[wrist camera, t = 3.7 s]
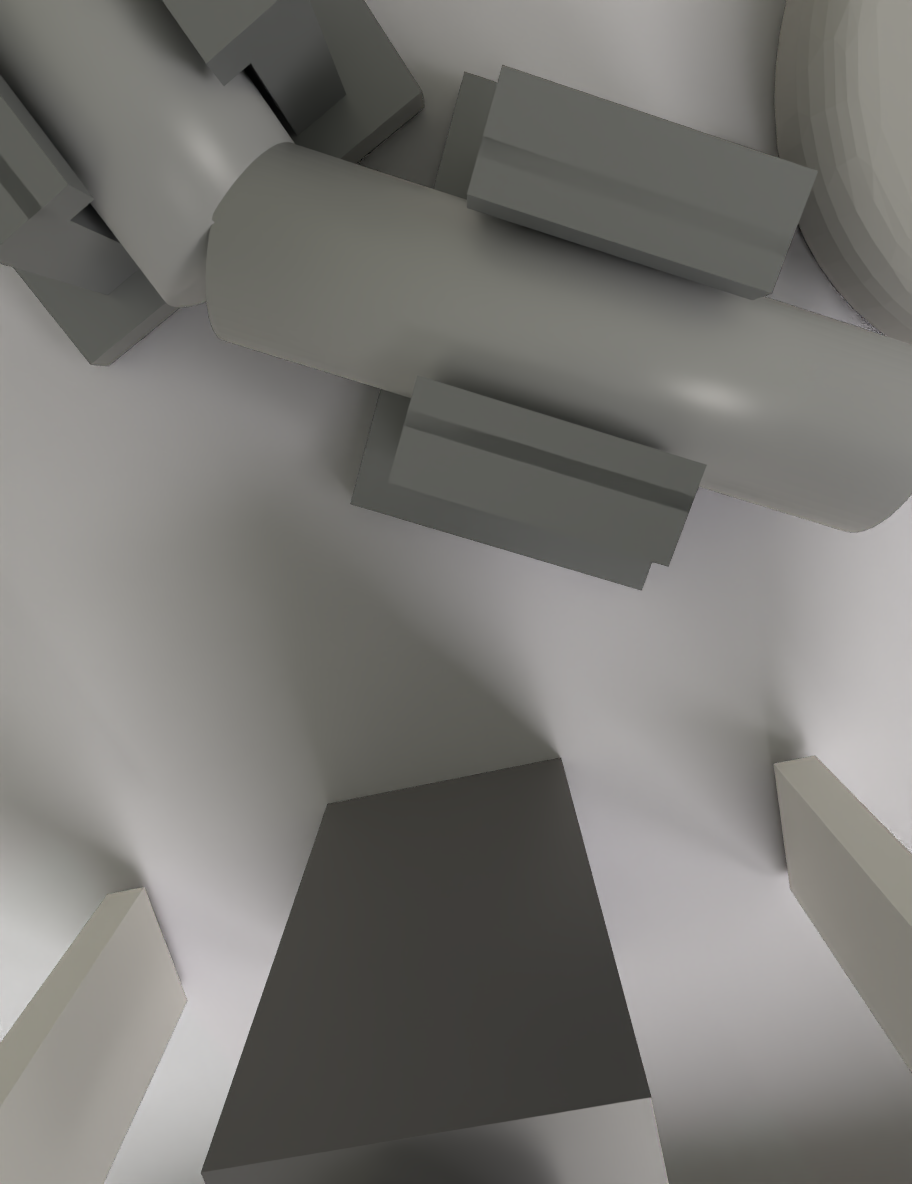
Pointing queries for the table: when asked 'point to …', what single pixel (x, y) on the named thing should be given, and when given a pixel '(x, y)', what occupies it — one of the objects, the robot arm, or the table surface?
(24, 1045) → the robot arm
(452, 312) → the clip
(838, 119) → the holder
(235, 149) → the clip
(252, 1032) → the block
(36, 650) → the table surface
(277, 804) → the table surface
